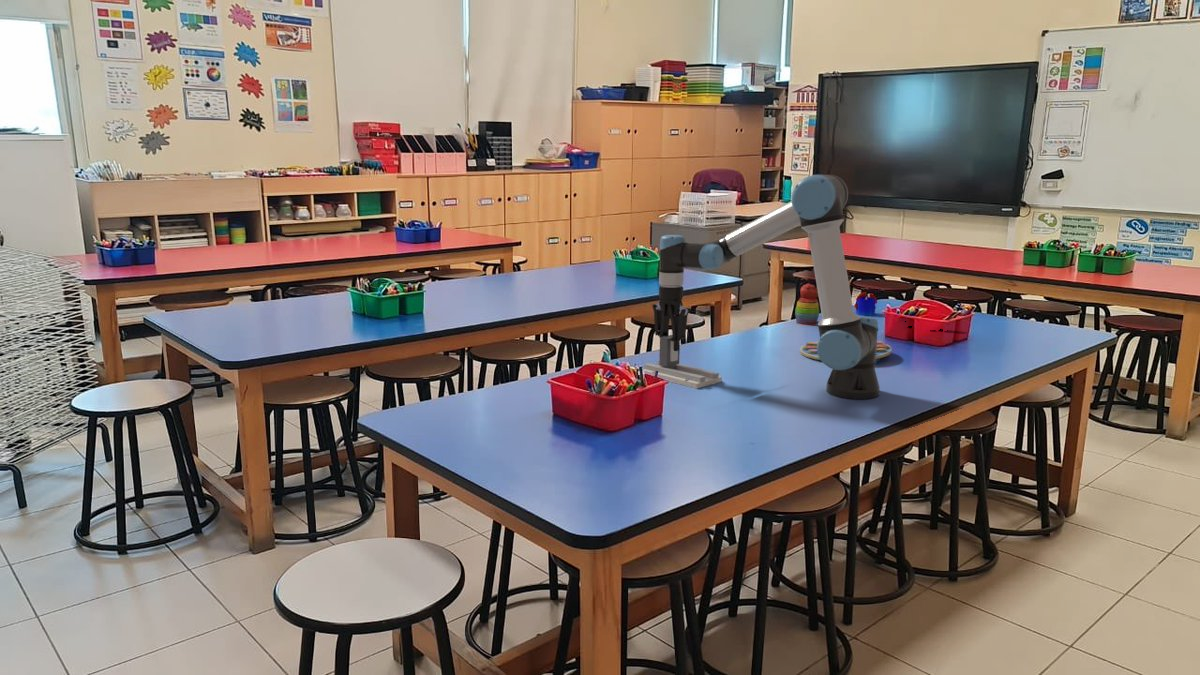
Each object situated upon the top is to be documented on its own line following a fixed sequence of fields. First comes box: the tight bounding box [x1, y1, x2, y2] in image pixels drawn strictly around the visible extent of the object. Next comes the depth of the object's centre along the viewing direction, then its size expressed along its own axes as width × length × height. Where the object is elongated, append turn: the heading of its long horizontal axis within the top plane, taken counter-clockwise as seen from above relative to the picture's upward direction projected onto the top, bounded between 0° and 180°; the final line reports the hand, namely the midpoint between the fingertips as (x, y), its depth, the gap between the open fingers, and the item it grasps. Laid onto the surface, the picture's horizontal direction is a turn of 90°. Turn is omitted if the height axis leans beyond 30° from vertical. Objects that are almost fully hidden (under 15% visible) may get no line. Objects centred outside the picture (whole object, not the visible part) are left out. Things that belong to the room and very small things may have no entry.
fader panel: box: [642, 360, 723, 389], centre depth 270 cm, size 23×12×3 cm, turn 44°
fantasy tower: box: [854, 291, 878, 317], centre depth 367 cm, size 12×12×12 cm
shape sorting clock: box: [799, 339, 893, 365], centre depth 301 cm, size 31×30×6 cm
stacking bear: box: [794, 282, 820, 327], centre depth 349 cm, size 11×10×18 cm
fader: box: [658, 334, 680, 369], centre depth 272 cm, size 3×6×11 cm, turn 134°
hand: (669, 359), depth 273 cm, fingers closed on fader, 3 cm apart
